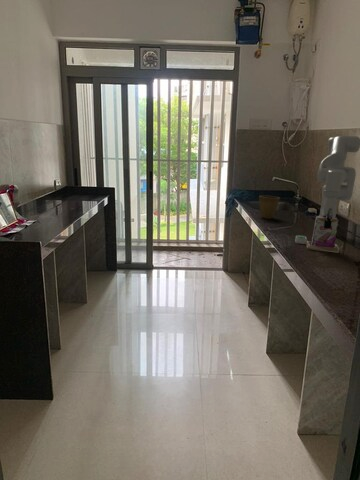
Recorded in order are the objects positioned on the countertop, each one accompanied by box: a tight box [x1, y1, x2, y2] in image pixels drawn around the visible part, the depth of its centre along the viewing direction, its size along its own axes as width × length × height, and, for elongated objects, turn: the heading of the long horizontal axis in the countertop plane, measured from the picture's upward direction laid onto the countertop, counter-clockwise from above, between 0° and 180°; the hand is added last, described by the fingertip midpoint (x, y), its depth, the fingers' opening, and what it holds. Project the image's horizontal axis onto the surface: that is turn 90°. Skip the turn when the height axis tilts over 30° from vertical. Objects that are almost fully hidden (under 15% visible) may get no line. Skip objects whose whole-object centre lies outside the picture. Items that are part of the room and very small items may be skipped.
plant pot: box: [258, 194, 280, 219], centre depth 267 cm, size 15×15×16 cm
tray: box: [305, 240, 340, 254], centre depth 194 cm, size 10×16×2 cm, turn 76°
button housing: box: [294, 235, 308, 245], centre depth 204 cm, size 6×6×3 cm
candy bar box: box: [311, 215, 339, 248], centre depth 192 cm, size 11×5×16 cm, turn 76°
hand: (325, 226), depth 191 cm, fingers open, 9 cm apart
